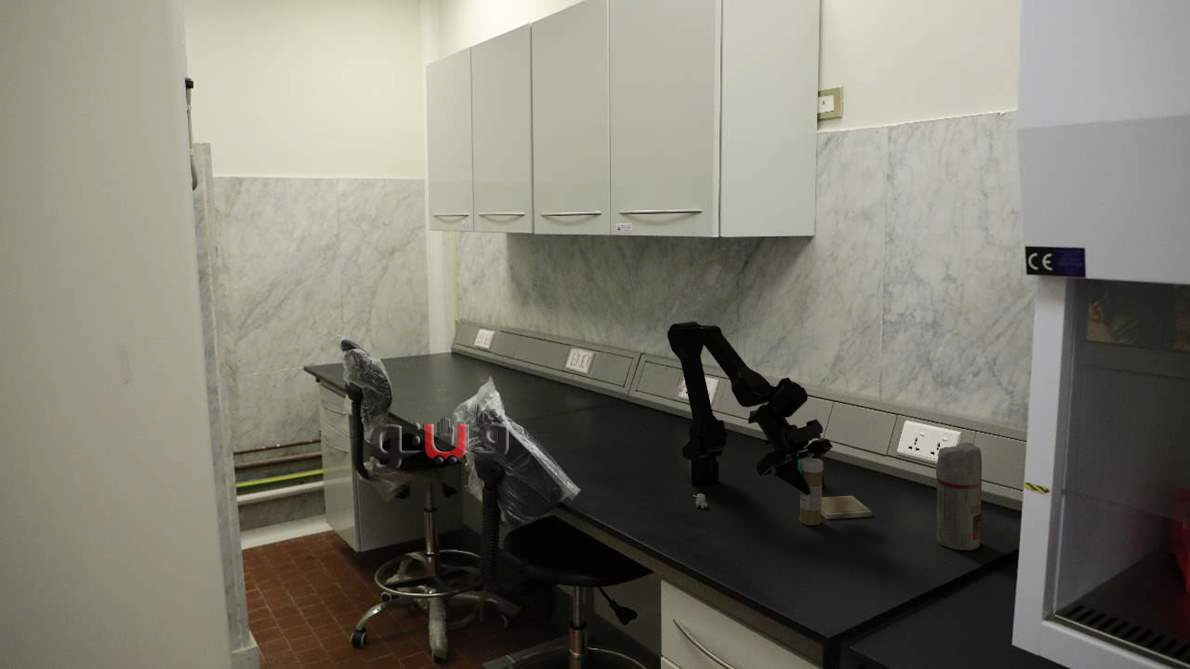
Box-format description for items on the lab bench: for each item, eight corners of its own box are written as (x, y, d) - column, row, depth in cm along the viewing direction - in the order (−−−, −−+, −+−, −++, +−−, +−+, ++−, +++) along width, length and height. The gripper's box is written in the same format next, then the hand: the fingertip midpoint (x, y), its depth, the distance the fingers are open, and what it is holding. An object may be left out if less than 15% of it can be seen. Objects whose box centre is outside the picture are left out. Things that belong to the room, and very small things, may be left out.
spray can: (960, 555, 152) (966, 453, 149) (925, 540, 160) (929, 442, 156) (990, 546, 156) (996, 446, 153) (954, 532, 163) (959, 436, 160)
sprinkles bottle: (796, 518, 172) (797, 457, 170) (817, 517, 172) (818, 456, 170) (803, 526, 167) (805, 464, 165) (825, 525, 168) (826, 463, 166)
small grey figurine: (708, 507, 181) (708, 494, 180) (703, 511, 178) (703, 497, 178) (695, 505, 182) (695, 492, 182) (690, 509, 180) (690, 495, 179)
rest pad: (826, 519, 171) (826, 514, 171) (809, 502, 181) (809, 497, 181) (871, 516, 172) (871, 511, 172) (851, 499, 182) (851, 495, 182)
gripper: (767, 415, 164) (809, 481, 157) (826, 401, 175) (868, 463, 168) (739, 444, 172) (777, 508, 164) (797, 429, 182) (836, 489, 175)
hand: (816, 491), depth 168 cm, fingers closed on sprinkles bottle, 4 cm apart
